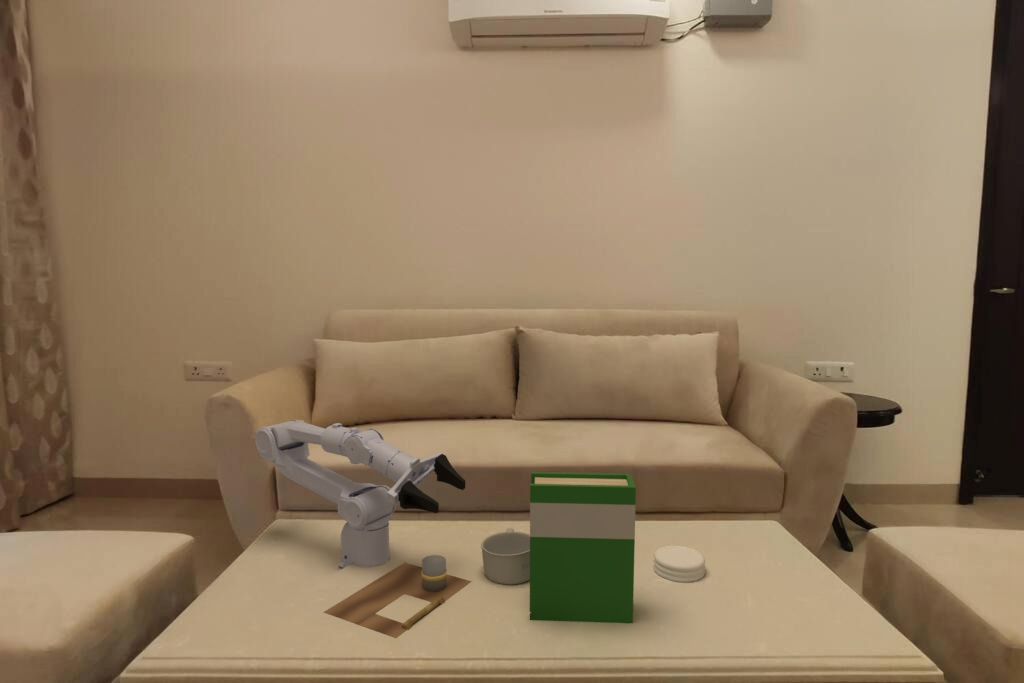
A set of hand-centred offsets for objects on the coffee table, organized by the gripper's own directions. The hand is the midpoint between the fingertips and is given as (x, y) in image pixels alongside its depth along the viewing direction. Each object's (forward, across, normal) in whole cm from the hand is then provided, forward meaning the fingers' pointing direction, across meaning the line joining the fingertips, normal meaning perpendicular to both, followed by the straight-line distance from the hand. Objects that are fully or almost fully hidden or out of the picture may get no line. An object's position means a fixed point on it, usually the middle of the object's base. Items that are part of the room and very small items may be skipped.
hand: (451, 496), depth 121 cm
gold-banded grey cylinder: (+2, -8, +15) cm, 17 cm away
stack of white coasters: (+37, +27, +18) cm, 49 cm away
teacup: (+11, +5, +19) cm, 23 cm away
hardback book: (+28, +3, +13) cm, 31 cm away
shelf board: (0, -14, +15) cm, 21 cm away
